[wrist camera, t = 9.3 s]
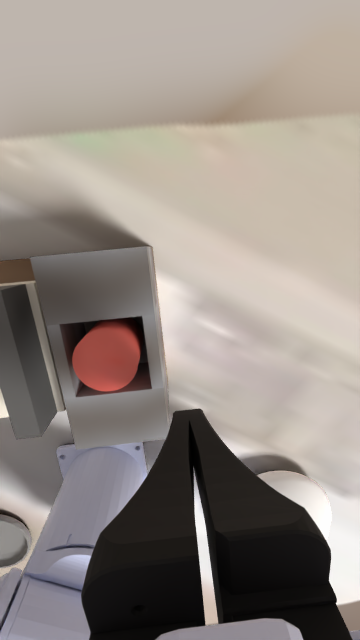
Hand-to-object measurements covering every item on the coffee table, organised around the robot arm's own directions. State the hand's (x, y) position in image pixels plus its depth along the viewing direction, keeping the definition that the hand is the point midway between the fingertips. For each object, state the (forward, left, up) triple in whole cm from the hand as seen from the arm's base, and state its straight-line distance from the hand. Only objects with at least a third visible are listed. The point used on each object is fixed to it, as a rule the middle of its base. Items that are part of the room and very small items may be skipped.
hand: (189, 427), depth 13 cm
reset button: (+3, +4, -7) cm, 8 cm away
